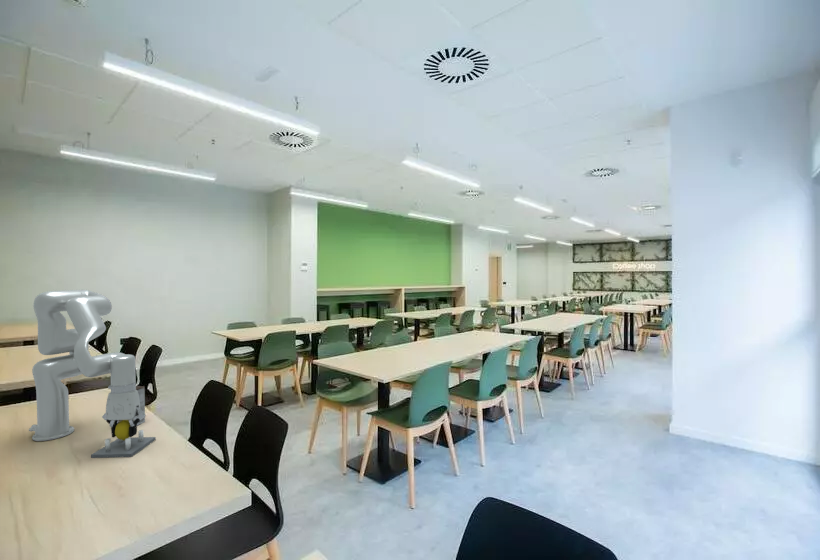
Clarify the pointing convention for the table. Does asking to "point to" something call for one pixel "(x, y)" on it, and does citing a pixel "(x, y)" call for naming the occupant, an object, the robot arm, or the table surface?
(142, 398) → the coffee box
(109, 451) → the grey pegged plate
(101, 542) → the table surface
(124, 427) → the lemon
